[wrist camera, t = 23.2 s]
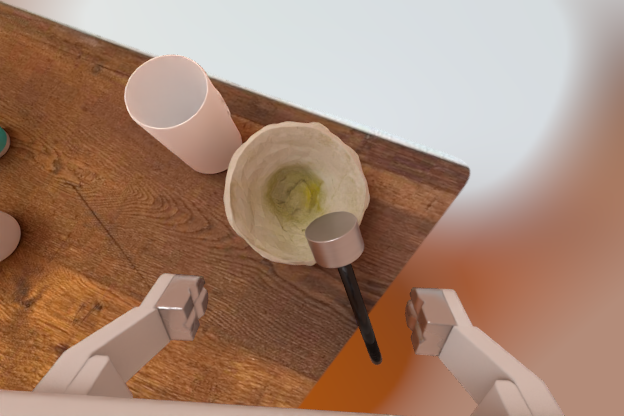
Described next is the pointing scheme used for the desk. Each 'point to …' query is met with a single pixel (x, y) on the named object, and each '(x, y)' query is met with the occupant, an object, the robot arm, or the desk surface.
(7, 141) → the beverage can
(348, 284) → the rod on puck
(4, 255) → the cup
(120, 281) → the desk surface
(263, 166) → the bowl
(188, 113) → the mug
